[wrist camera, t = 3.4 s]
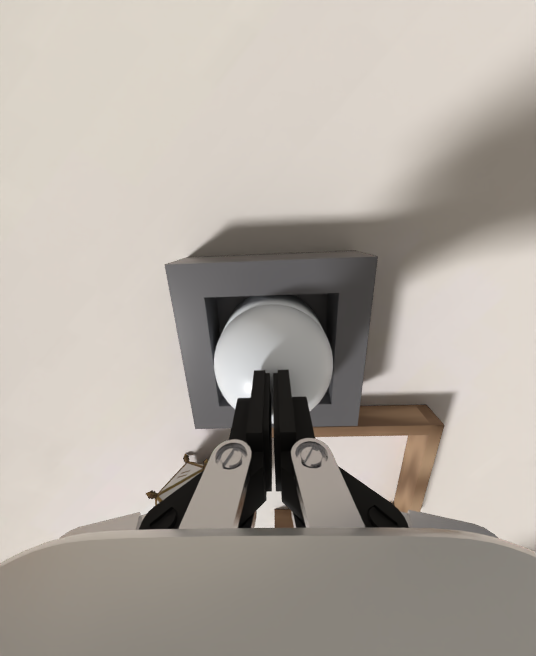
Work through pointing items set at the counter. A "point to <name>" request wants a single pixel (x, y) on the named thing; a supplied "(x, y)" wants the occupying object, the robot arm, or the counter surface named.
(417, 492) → the walnut bay
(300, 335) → the dome
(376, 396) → the counter surface
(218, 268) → the dome base
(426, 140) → the counter surface
